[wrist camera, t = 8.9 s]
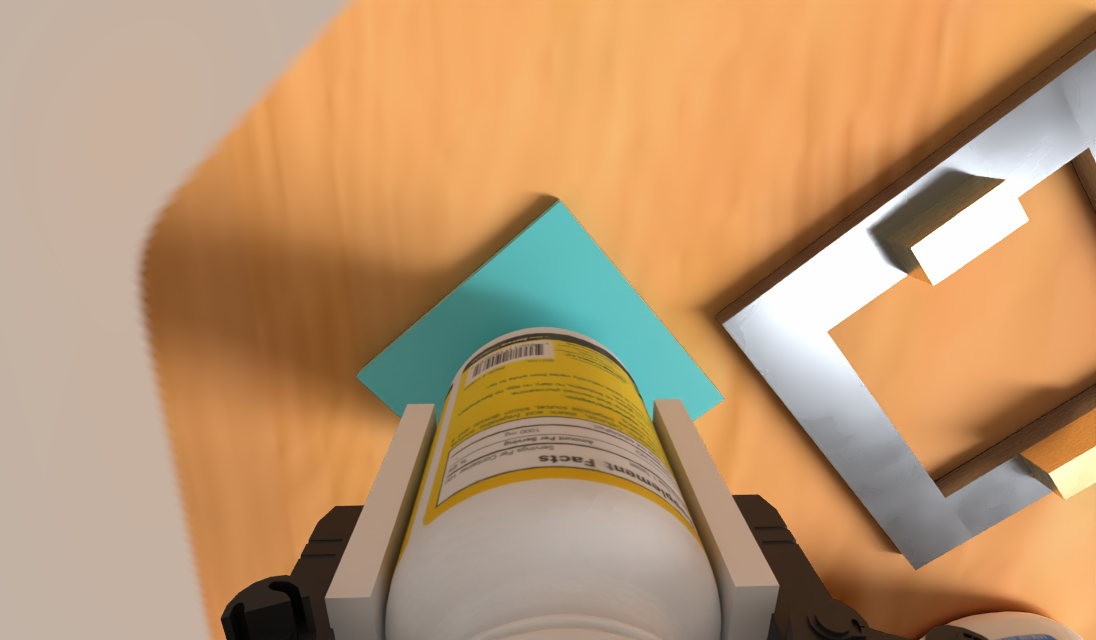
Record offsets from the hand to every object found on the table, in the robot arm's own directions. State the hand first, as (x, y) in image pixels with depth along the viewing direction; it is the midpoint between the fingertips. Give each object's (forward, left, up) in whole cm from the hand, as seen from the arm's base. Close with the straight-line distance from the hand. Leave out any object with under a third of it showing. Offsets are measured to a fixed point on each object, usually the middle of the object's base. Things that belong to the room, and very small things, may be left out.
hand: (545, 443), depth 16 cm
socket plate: (+13, -9, -4) cm, 16 cm away
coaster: (0, 0, -4) cm, 4 cm away
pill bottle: (0, 0, -2) cm, 2 cm away
